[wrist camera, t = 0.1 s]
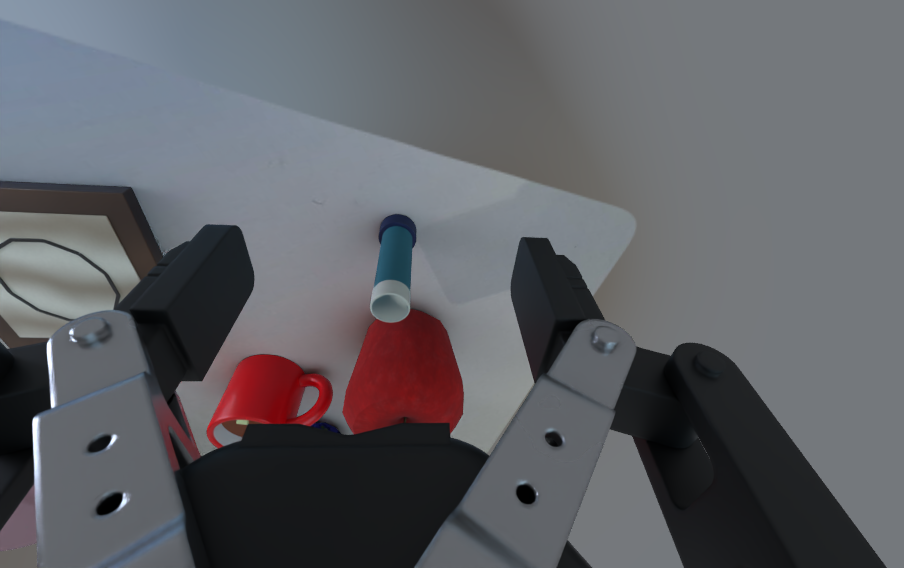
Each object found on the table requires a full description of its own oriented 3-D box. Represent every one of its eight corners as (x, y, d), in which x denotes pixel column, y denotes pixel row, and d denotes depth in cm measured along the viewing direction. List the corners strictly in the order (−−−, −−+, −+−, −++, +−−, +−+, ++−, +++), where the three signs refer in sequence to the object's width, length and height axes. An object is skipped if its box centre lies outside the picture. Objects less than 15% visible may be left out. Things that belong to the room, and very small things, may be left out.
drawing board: (-125, 175, 29) (-147, 182, 28) (131, 186, 31) (120, 194, 30) (20, 341, 40) (9, 351, 39) (203, 343, 42) (197, 353, 40)
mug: (349, 385, 47) (338, 446, 41) (257, 401, 48) (232, 463, 42) (324, 342, 43) (307, 404, 36) (222, 361, 43) (188, 424, 37)
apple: (369, 362, 45) (352, 480, 34) (349, 295, 39) (320, 414, 28) (459, 354, 45) (470, 470, 34) (453, 286, 39) (465, 401, 28)
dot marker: (379, 213, 33) (364, 289, 25) (416, 214, 34) (414, 290, 25) (380, 244, 35) (367, 325, 27) (416, 246, 35) (413, 326, 27)
